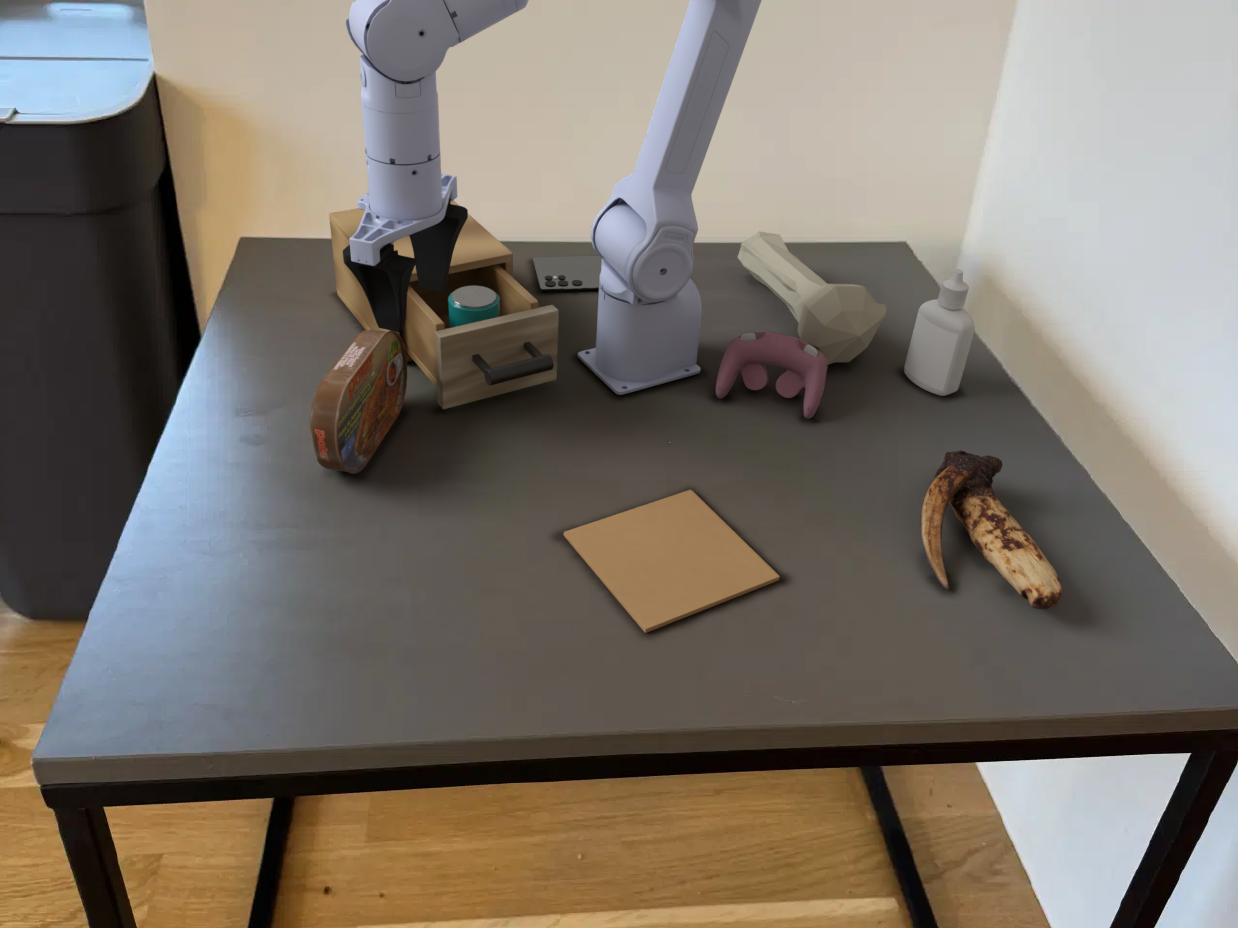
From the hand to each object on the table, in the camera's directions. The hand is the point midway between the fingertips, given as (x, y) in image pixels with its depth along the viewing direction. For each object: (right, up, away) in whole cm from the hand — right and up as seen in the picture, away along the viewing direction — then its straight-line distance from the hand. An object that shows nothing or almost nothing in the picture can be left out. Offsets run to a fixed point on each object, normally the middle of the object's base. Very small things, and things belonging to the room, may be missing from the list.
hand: (412, 307), depth 93 cm
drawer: (+4, -4, +10) cm, 12 cm away
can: (+4, -3, +10) cm, 11 cm away
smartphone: (+16, +8, +29) cm, 34 cm away
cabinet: (-3, +2, +19) cm, 20 cm away
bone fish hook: (+45, -20, -6) cm, 50 cm away
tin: (-4, -11, +1) cm, 12 cm away
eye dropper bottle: (+48, -5, +15) cm, 50 cm away
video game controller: (+32, -7, +11) cm, 34 cm away
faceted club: (+36, +2, +24) cm, 44 cm away
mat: (+21, -20, -9) cm, 31 cm away
